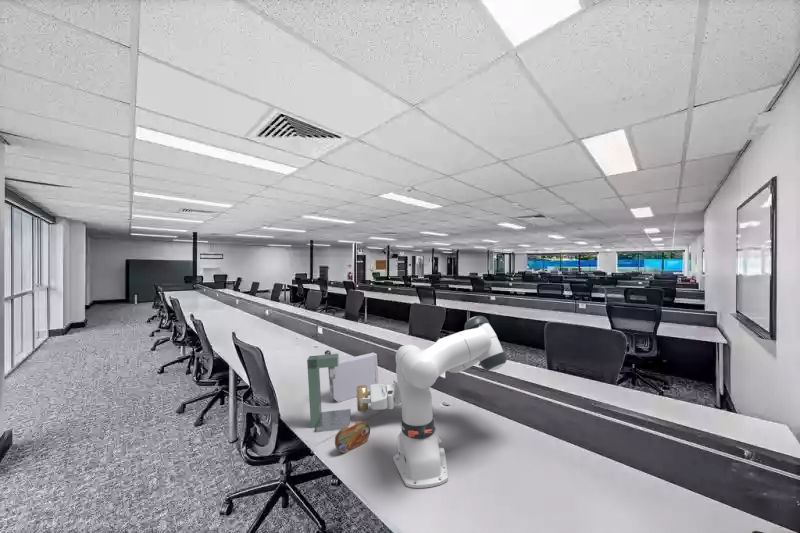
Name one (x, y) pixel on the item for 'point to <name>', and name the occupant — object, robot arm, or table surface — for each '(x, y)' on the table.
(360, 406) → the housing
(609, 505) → the table surface
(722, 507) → the table surface
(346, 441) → the tin
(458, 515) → the table surface
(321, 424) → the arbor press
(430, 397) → the robot arm
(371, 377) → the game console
